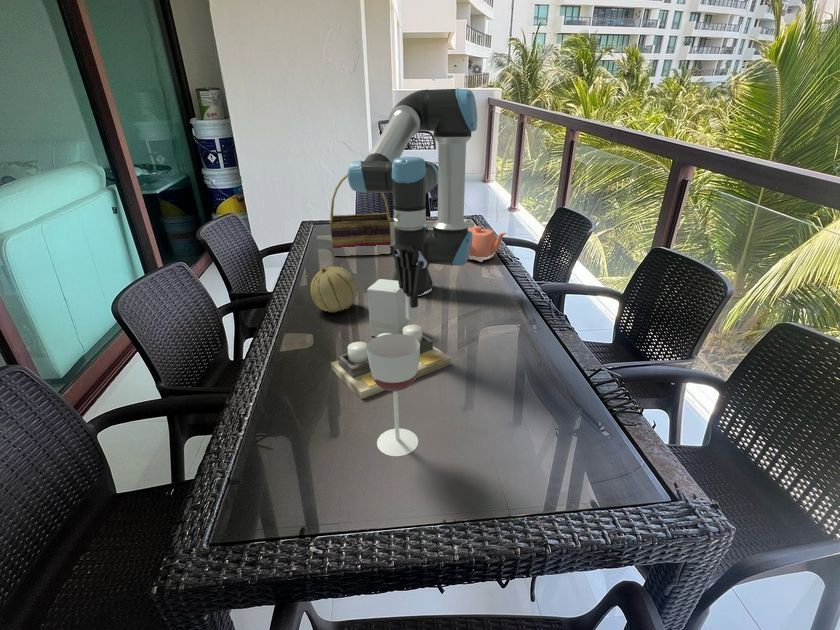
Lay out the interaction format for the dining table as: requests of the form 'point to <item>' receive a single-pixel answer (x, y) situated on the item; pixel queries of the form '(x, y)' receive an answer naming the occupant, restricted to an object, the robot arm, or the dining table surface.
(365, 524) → the dining table surface
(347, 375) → the board
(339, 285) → the cantaloupe
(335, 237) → the basket
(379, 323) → the supplement box
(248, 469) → the dining table surface
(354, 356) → the button
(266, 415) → the dining table surface
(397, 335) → the wineglass
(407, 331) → the button
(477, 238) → the teapot
